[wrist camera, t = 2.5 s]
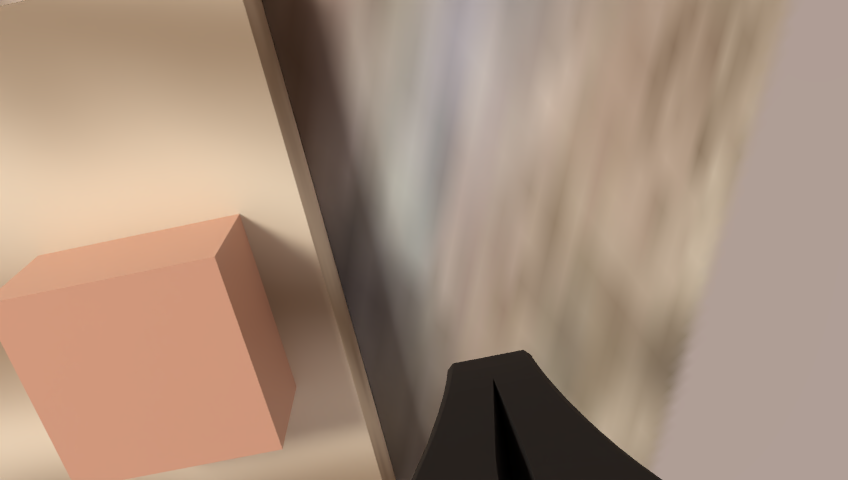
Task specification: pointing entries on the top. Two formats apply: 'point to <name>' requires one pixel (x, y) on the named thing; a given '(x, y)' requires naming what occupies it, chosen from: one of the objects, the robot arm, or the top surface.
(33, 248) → the board
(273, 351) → the block
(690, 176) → the top surface
